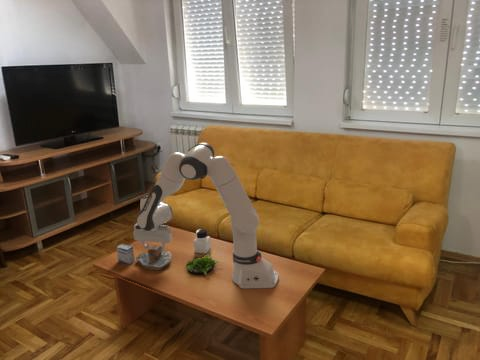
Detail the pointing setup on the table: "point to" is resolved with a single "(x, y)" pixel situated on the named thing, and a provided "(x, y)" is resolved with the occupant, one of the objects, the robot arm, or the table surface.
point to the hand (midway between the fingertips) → (154, 248)
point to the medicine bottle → (202, 241)
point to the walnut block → (154, 252)
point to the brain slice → (154, 264)
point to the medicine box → (125, 254)
